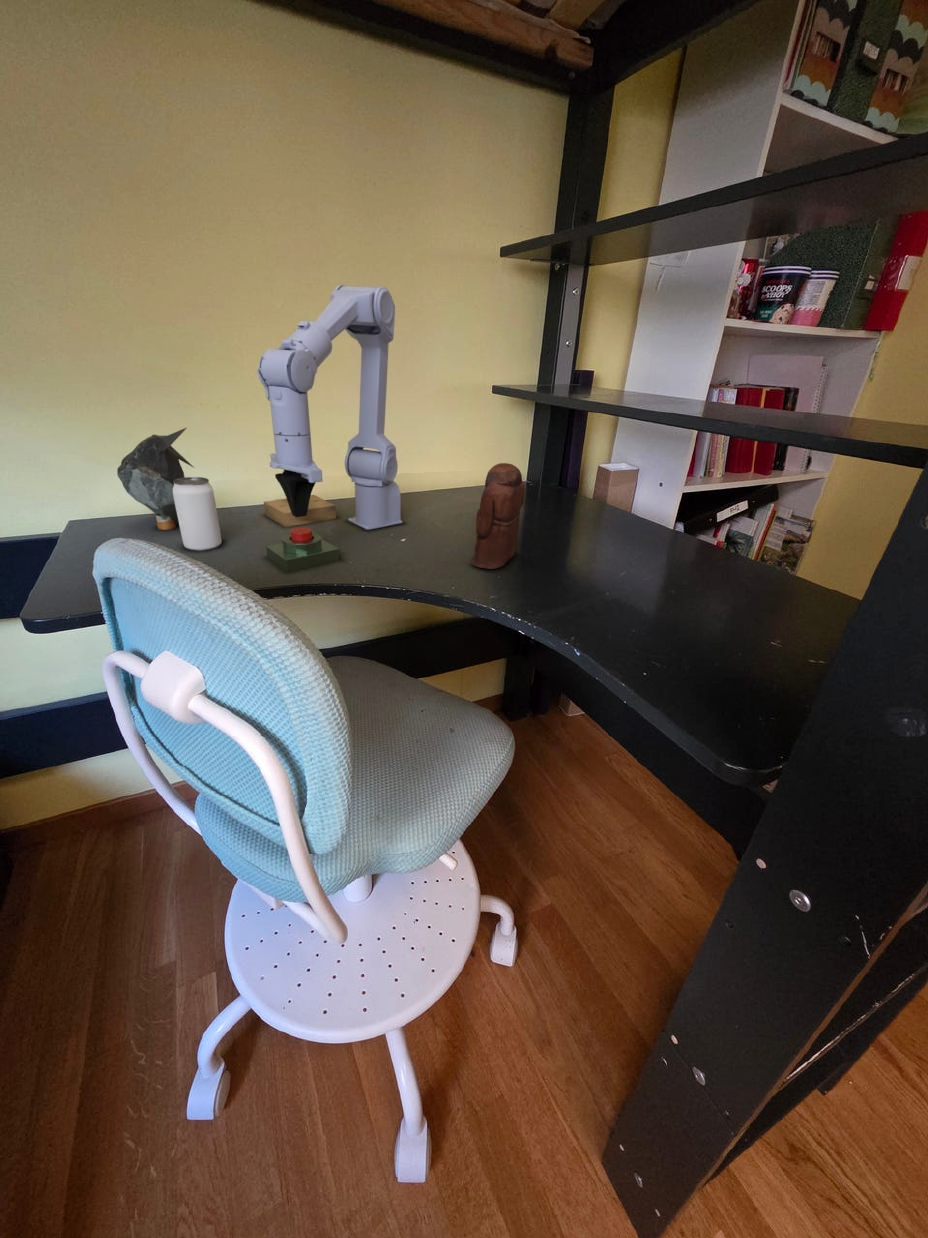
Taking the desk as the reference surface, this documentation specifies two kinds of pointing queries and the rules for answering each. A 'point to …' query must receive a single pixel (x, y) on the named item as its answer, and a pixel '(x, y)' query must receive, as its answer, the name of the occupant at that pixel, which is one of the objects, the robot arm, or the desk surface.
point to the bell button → (301, 534)
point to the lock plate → (316, 512)
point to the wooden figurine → (499, 516)
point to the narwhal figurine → (154, 476)
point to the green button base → (302, 553)
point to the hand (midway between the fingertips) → (299, 515)
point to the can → (197, 513)
